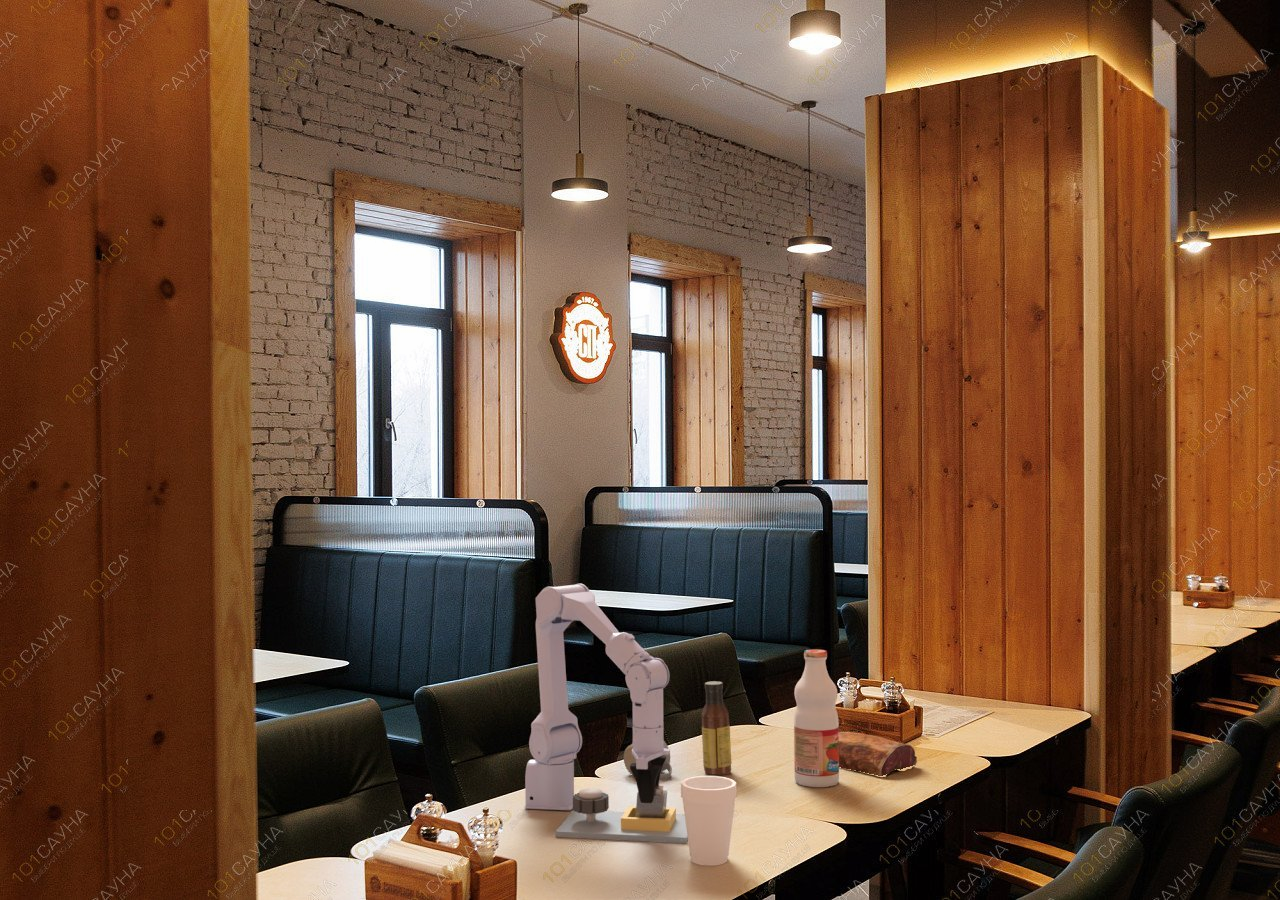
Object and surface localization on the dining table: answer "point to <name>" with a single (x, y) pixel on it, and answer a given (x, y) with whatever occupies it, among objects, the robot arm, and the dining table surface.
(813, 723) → the fruit juice
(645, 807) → the grey square peg
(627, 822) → the plate
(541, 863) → the dining table surface
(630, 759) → the ceramic mug
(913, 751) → the cured meat
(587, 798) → the dark grey knob
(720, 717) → the sauce bottle
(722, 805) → the foam cup
